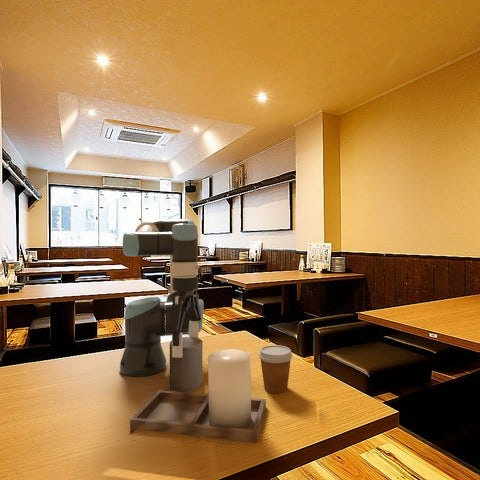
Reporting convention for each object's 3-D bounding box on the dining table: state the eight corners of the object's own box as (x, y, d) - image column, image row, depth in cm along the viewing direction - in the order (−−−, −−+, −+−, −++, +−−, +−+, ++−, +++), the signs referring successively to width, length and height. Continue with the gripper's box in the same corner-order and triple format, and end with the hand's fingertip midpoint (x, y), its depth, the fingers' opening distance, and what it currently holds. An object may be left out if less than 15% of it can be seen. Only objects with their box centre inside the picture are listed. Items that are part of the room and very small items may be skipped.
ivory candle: (203, 429, 75) (202, 362, 75) (215, 407, 85) (214, 348, 85) (247, 434, 73) (246, 365, 73) (254, 411, 83) (253, 350, 83)
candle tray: (130, 432, 76) (129, 419, 76) (158, 401, 91) (158, 390, 91) (256, 447, 70) (256, 433, 70) (265, 411, 85) (265, 399, 85)
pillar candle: (162, 391, 96) (162, 339, 96) (181, 378, 105) (181, 330, 105) (191, 398, 92) (191, 344, 92) (208, 384, 101) (208, 334, 101)
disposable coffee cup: (270, 403, 89) (270, 358, 89) (252, 389, 97) (252, 347, 97) (299, 395, 93) (299, 352, 93) (280, 382, 102) (279, 342, 102)
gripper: (181, 281, 85) (182, 365, 85) (209, 272, 110) (210, 337, 110) (154, 281, 87) (155, 363, 87) (188, 272, 111) (188, 336, 111)
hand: (186, 349), depth 98 cm, fingers open, 13 cm apart
